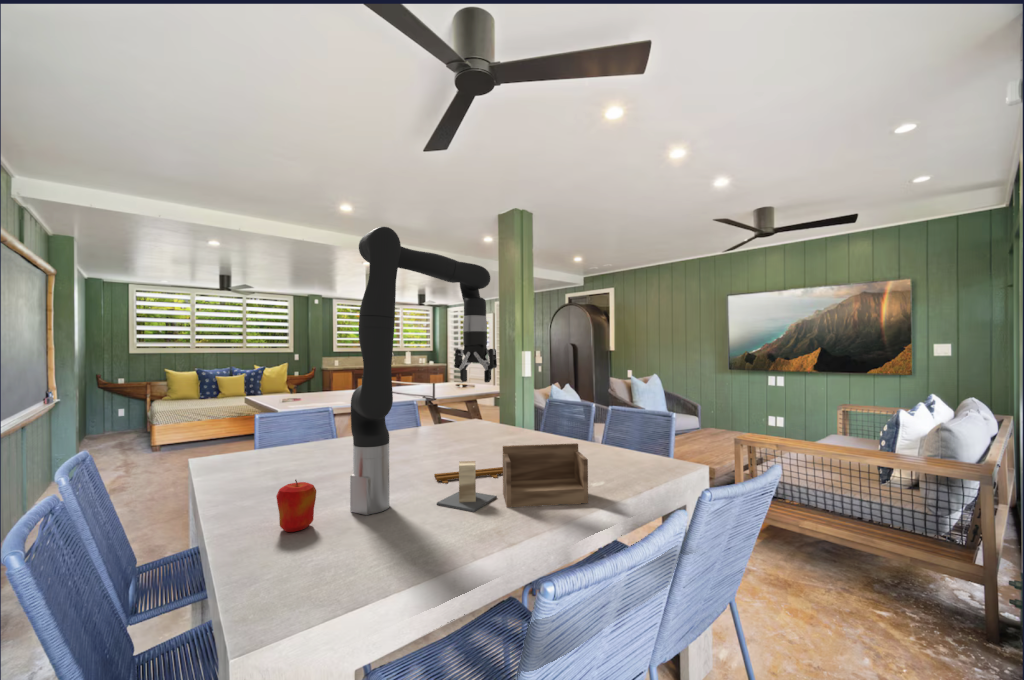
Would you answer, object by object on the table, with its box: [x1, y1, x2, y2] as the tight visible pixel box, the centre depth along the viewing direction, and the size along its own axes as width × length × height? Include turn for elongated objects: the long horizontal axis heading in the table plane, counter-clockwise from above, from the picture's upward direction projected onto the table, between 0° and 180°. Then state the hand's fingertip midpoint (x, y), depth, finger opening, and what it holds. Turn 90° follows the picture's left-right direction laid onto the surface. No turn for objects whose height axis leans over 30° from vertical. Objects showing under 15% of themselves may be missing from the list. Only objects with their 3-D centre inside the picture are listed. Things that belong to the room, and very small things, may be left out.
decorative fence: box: [434, 466, 503, 484], centre depth 147 cm, size 25×2×10 cm
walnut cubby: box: [502, 443, 589, 508], centre depth 125 cm, size 11×22×14 cm, turn 96°
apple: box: [275, 479, 317, 533], centre depth 105 cm, size 9×8×12 cm
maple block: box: [458, 460, 477, 502], centre depth 123 cm, size 4×4×10 cm
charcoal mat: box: [436, 491, 498, 513], centre depth 123 cm, size 12×12×1 cm
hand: (475, 382), depth 138 cm, fingers open, 8 cm apart
